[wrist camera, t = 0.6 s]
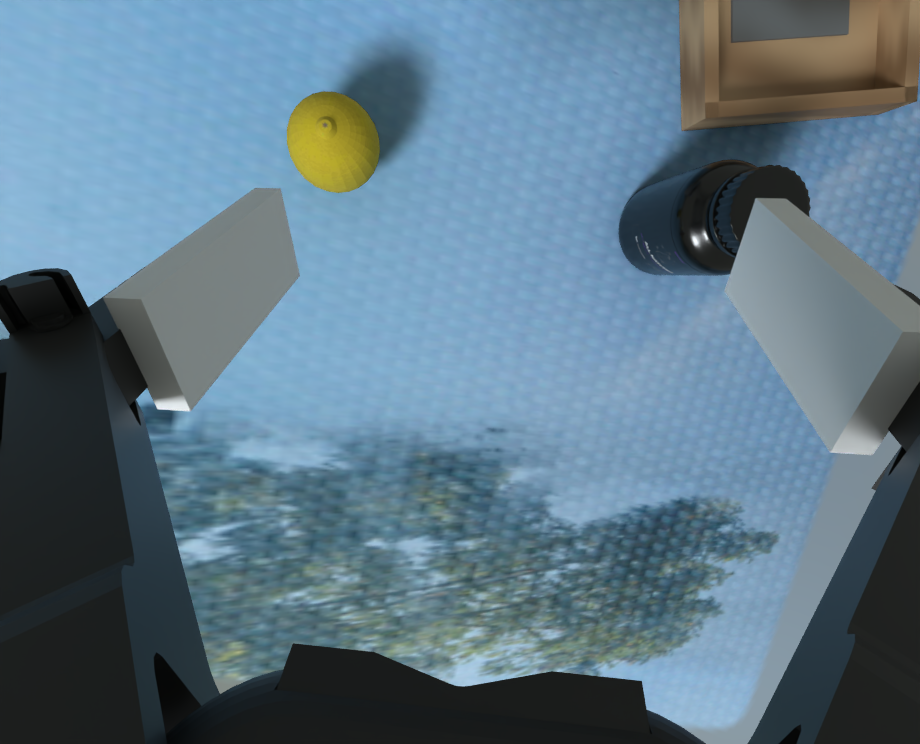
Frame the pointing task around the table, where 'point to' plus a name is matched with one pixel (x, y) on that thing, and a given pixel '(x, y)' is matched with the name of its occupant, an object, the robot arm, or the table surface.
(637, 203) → the supplement bottle
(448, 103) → the table surface
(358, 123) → the lemon
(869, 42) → the tray
